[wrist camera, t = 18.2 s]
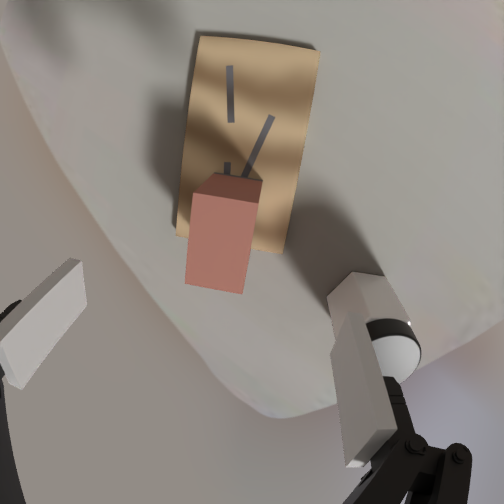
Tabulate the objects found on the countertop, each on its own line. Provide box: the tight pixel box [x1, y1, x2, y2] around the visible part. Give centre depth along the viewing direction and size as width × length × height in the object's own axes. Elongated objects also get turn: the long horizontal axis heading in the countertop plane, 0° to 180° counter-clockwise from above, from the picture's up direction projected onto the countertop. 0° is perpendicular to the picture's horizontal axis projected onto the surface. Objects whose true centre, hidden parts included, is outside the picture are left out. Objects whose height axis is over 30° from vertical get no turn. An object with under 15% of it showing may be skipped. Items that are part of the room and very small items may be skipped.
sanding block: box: [185, 172, 263, 294], centre depth 29 cm, size 8×5×9 cm, turn 171°
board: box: [176, 36, 320, 254], centre depth 31 cm, size 22×12×1 cm, turn 171°
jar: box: [327, 272, 421, 384], centre depth 33 cm, size 9×8×12 cm
